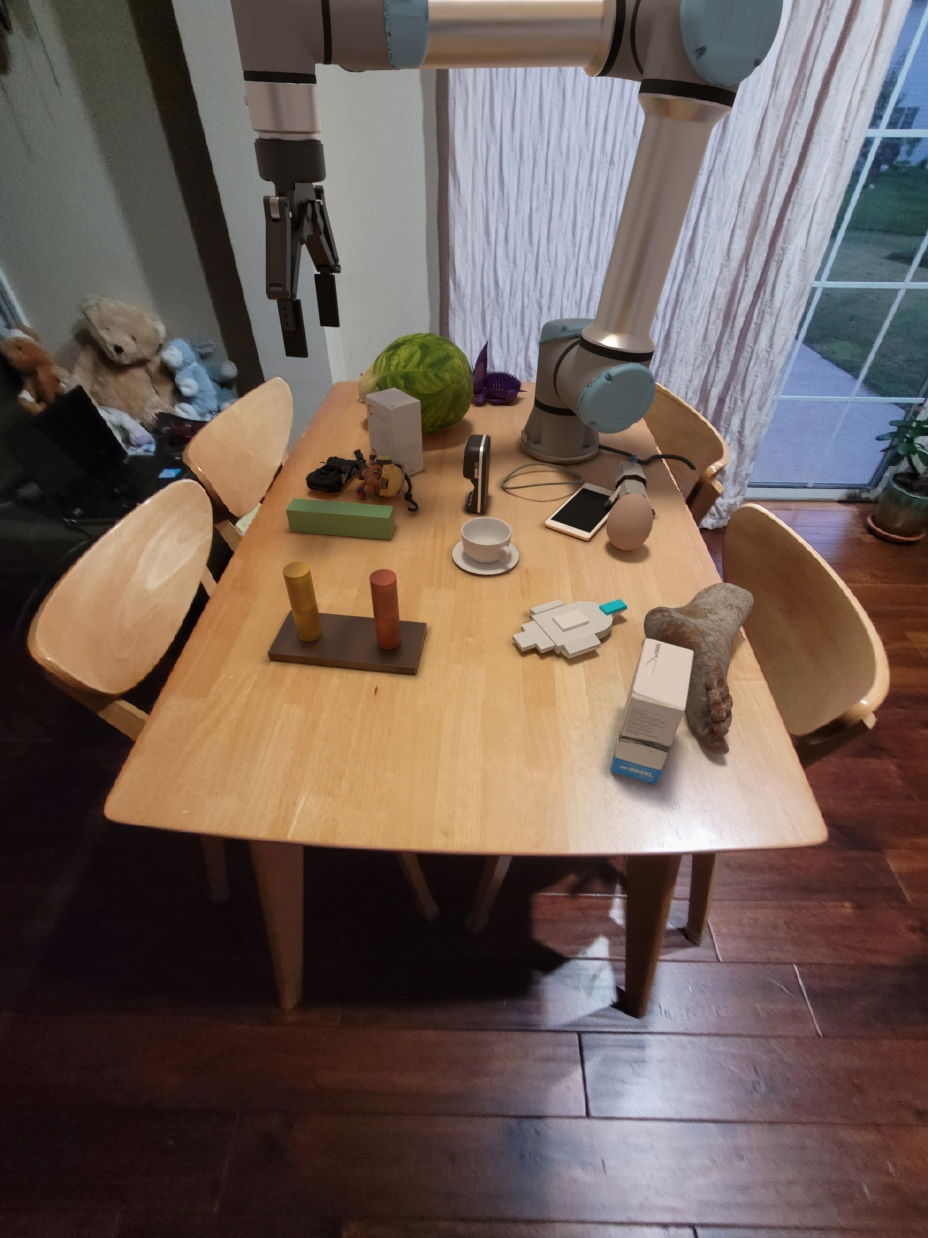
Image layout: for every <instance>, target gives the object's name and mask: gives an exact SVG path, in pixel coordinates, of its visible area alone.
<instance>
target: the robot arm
mask: <svg viewBox="0 0 928 1238" xmlns="http://www.w3.org/2000/svg"><path fill="white" fill-rule="evenodd" d="M229 1H230V7H231V13H232V17H233V24H234V30H235V35H236V41H237V42H236V43H237V47H238V53H239V59H240V65H241V70H242V71H241V72H243V73H242V76H243V81H244V88H245V94H244V95H243V102H244V104H245V105H246V106H247V107H248V112H249V118H250V125H251V129H252V130H253V131H254V132H256V133H257V134H258V137H257V138H255V139H254V142H253V146H254V153H255V158H256V164H257V171H258V176H259V178H260V179H261V180H263V181H265V182H271V183H272V184H273V185H274V195H263V197H262V203H263V210H264V212H263V213H264V220H265V295H266V298H267V300H271V301H276V305H277V311H278V318H279V323H280V330H281V336H282V342H283V347H284V353H285V357H287V358H300V359H307V358H309V348H308V343H307V335H306V328H305V320H304V314H303V307H302V301H301V300H302V299H301V298H298V297H297V296H298V289H299V288H298V286H299V278H300V269H301V268H300V267H301V257H302V248H303V246H304V245H305V248H306V249H307V252H308V254H309V257H310V259H311V261H312V264H313V266H314V268H315V271H316V272H317V273H314V274H313V280H314V287H315V296H316V303H317V304H316V305H317V311H318V319H319V320H318V321H319V326H320V327H325V328H326V327H327V328H340V327H341V324H340V323H341V322H340V321H341V320H340V313H339V302H338V294H337V293H338V292H337V284H336V274H341V273H342V266H341V265H342V264H340V258H339V253H338V249H337V246H336V241H335V237H334V233H333V229H332V225H331V221H330V216H329V213H328V209H327V203H326V196H325V190H324V189H325V188H324V185H322V184H318V183H322V182H324V181H325V180H326V178H327V169H326V168H327V167H326V159H325V158H326V157H325V149H324V143H322V140H320V139H318V134H321V132H322V131H323V127H322V126H323V125H322V116H321V106H320V97H319V88H318V81H317V76H316V65H321V64H322V65H325V66H331V65H332V66H333V65H334V66H339V67H340V68H341V69H342V70H344V71H346V72H348V73H356V74H357V73H359V74H361V73H364V72H366V71H367V72H369V71H372V72H373V71H375V72H376V71H400V70H453V69H454V70H456V69H460V70H461V69H462V70H464V69H465V70H466V69H517V68H518V69H523V68H524V69H525V68H527V69H528V68H529V69H530V68H531V69H532V68H582V69H583V71H584V73H585V74H586V76H588V77H590V78H602V77H603V78H613V79H620V80H621V79H622V80H627V81H633V82H638V83H640V84H639V85H640V86H639V88H638V93H637V101H638V102H639V105H640V107H641V109H642V112H643V115H644V119H643V124H642V127H641V131H640V136H639V140H638V144H637V147H636V152H635V155H634V160H633V163H632V168H631V170H630V171H631V172H630V176H629V180H628V185H627V188H626V191H625V196H624V200H623V204H622V208H621V212H620V216H619V220H618V224H617V228H616V232H615V236H614V240H613V245H612V248H611V253H610V257H609V261H608V264H607V268H606V273H605V276H604V280H603V284H602V289H601V291H600V292H601V293H600V297H599V301H598V305H597V309H596V313H595V317H594V318H588V317H587V318H586V317H585V318H584V317H581V318H580V317H568V318H558V319H552V320H549V321H546V322H545V323H544V324H543V325H542V328H541V332H540V335H539V336H540V337H539V341H538V353H537V364H536V365H537V366H536V378H535V387H534V388H535V389H534V399H533V405H532V409H531V411H530V413H529V416H528V418H527V420H526V423H525V425H524V428H523V429H522V428H520V448H521V449H522V451H523V452H524V453H526V454H527V456H529V457H532V458H534V459H535V460H538V461H541V462H544V463H548V464H555V465H573V464H575V465H576V464H580V463H584V462H587V461H589V460H592V459H593V458H595V457H596V456H597V454H598V452H599V450H602V451H606V452H609V453H612V454H616V455H621V456H623V457H624V456H625V457H626V458H629V459H630V456H631V455H633V454H634V453H631V452H628V451H625V450H622V449H618V448H615V447H611V446H607V445H604V444H600V434H604V435H613V434H618V433H622V432H624V431H627V430H628V429H630V428H631V427H632V426H633V425H634V424H637V423H639V422H640V421H641V420H642V419H643V418H644V417H645V416H646V414H647V413H648V412H649V410H650V409H651V407H652V405H653V404H654V403H653V402H654V401H655V397H656V394H657V393H656V392H657V383H656V379H655V378H654V377H655V376H654V374H653V372H652V371H651V370H650V366H651V364H652V360H653V356H654V355H655V352H656V347H657V345H656V343H655V341H654V338H653V337H652V335H651V330H652V326H653V323H654V320H655V317H656V314H657V311H658V308H659V304H660V302H661V297H662V295H663V292H664V288H665V286H666V282H667V279H668V275H669V271H670V270H671V269H670V268H671V266H672V262H673V259H674V256H675V252H676V249H677V245H678V243H679V239H680V236H681V233H682V230H683V226H684V223H685V221H686V217H687V214H688V210H689V208H690V203H691V201H692V198H693V195H694V191H695V188H696V184H697V181H698V177H699V175H700V171H701V168H702V165H703V162H704V159H705V156H706V152H707V148H708V146H709V142H710V140H711V136H712V133H713V129H714V128H715V127H716V126H717V125H718V124H719V122H721V121H722V120H723V119H725V117H727V116H728V115H729V114H730V113H732V109H733V107H734V104H735V101H736V99H737V98H736V97H737V94H738V91H739V88H740V86H741V83H742V82H743V81H744V80H746V79H747V78H749V77H750V76H751V75H752V74H753V72H754V71H755V69H756V68H758V67H759V66H761V65H762V63H763V61H765V59H766V57H767V56H768V54H769V53H770V51H771V49H772V47H773V44H774V43H775V40H776V37H777V34H778V31H779V28H780V24H781V20H782V14H783V8H784V0H229ZM316 183H317V184H316ZM654 460H674V461H675V460H676V461H680V462H682V463H684V464H685V465H687V467H689V469H690V470H692V471H697V467H696V466H695V464H694V463H693V462H692V461H690V460H689V459H688V458H686V457H684V456H681V455H679V454H672V453H671V454H669V453H668V454H667V453H662V454H661V453H660V454H658V453H657V454H652V455H650V457H648V458H646V459H641V458H639V457H637V464H639V465H649V464H651V463H652V462H653V461H654Z"/></svg>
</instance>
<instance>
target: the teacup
mask: <svg viewBox="0 0 928 1238" xmlns="http://www.w3.org/2000/svg"><path fill="white" fill-rule="evenodd" d="M460 535H461V540H460V541H458V543H456V544H455V545H454V547H453V549H452V550H451V551H452V552H451V555H452V559H453V561H454V563H455V564H456V565H457V566H459V568H461V569H462V570H465V571H467V572H470V573H473V574H476V575H477V574H478V575H498V574H501V573H504V572H507V571H509V570H511V569H512V568H513V567H515V566H516V565H517V563H518V561H519V559H520V553H519V551H518V549H517V547H516V546H515V545H514V544H513V543H512V542H511V540H512V535H513V529H512V527H511V526H510V524H509V523H507V522H506V521H504V520H503V519H501V518H497V517H493V516H479V517H474V518H471V519H469V520H467V521H465V522H464V523H463V524H462V526H461V528H460Z"/></svg>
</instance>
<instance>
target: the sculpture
mask: <svg viewBox="0 0 928 1238" xmlns="http://www.w3.org/2000/svg"><path fill="white" fill-rule="evenodd" d="M754 604H755V599H754V596H753V594H752V593H751V592H750V591H749V590H747V589H746V588H743V587H739V586H738V585H735V584H733V583H730V582H717V583H713V584H710V585H708V586H705V587H704V588H702V589H701V590H700V591H698V592H697V593H695V595H694V597H692V599H691V600H690V601H689V602H688V603H687V604H685V605H683V606H679V607H668V606H658V607H653V608H652V609H650V610H648V611H647V613H645V617H644V621H643V632H644V636H645V639H647V638H648V639H653V640H657V641H660V642H664V643H667V644H671V645H675V646H678V647H682V648H686V649H690V650H693V652H694V654H693V661H692V669H691V675H690V682H689V689H688V695H687V701H686V712H687V718H688V721H689V724H690V725H691V727H692V729H694V731H695V732H696V734H697V736H698V737H699V739H700V740H701V743H702V745H704V746H705V748H706V749H708V751H710V752H711V753H713V754H716V755H726V754H729V752H730V747H729V744H728V742H727V741H726V739H725V737H724V736H726V735H728V733H729V731H730V729H729V728H731V725H732V721H733V712H732V708H733V706H734V701H733V696H732V695H731V694H730V687H729V685H728V683H727V677H728V676H727V675H728V672H729V667H730V663H731V654H732V653H731V651H732V650H731V649H732V648H731V645H732V642H733V640H734V639H735V637H736V635H737V634H738V632H739V631H740V629H741V627H742V626H743V625H744V623H745V621H746V620H747V618H748V616H749V615H750V614H751V612H752V610H753V606H754Z"/></svg>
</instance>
